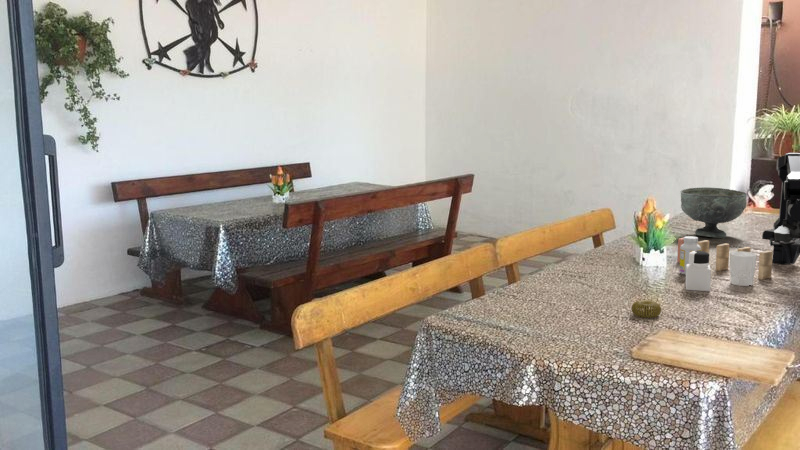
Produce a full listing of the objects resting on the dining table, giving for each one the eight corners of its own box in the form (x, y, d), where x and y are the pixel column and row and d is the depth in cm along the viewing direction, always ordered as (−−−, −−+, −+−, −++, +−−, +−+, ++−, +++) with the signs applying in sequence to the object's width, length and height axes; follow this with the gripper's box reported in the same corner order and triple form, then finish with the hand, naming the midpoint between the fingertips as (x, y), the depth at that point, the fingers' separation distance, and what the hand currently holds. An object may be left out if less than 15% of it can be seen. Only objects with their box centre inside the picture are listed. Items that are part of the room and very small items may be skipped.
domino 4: (744, 272, 258) (746, 246, 257) (749, 272, 257) (750, 247, 255) (736, 274, 256) (737, 248, 254) (740, 275, 254) (741, 249, 253)
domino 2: (704, 264, 271) (705, 240, 270) (708, 265, 270) (709, 240, 269) (695, 266, 269) (696, 241, 267) (699, 266, 267) (700, 242, 266)
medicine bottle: (708, 286, 240) (710, 250, 238) (710, 291, 234) (712, 254, 232) (685, 284, 243) (686, 249, 241) (686, 290, 236) (687, 253, 234)
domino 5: (766, 276, 251) (768, 250, 250) (771, 277, 250) (772, 251, 249) (758, 278, 249) (759, 252, 247) (762, 279, 248) (764, 253, 246)
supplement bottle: (702, 273, 258) (704, 237, 256) (695, 276, 253) (697, 239, 251) (683, 270, 263) (685, 234, 260) (676, 274, 258) (677, 237, 256)
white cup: (757, 287, 238) (759, 256, 236) (731, 286, 240) (733, 256, 238) (751, 281, 246) (753, 251, 244) (726, 280, 247) (727, 251, 246)
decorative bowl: (748, 233, 329) (751, 188, 325) (739, 243, 307) (742, 195, 304) (686, 229, 343) (688, 186, 339) (673, 238, 321) (675, 192, 318)
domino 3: (724, 268, 265) (725, 243, 263) (728, 268, 263) (729, 244, 262) (715, 270, 262) (716, 245, 261) (719, 270, 261) (720, 245, 259)
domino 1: (685, 260, 278) (686, 237, 277) (689, 261, 277) (690, 237, 275) (677, 262, 275) (678, 238, 274) (680, 263, 274) (681, 239, 273)
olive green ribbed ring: (648, 297, 215) (667, 303, 208) (647, 310, 215) (667, 317, 208) (625, 300, 212) (644, 307, 205) (625, 314, 212) (644, 321, 205)
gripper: (753, 215, 242) (751, 262, 244) (810, 223, 226) (807, 272, 229) (773, 212, 248) (770, 257, 250) (830, 219, 232) (826, 267, 235)
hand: (792, 263), depth 241 cm, fingers closed
